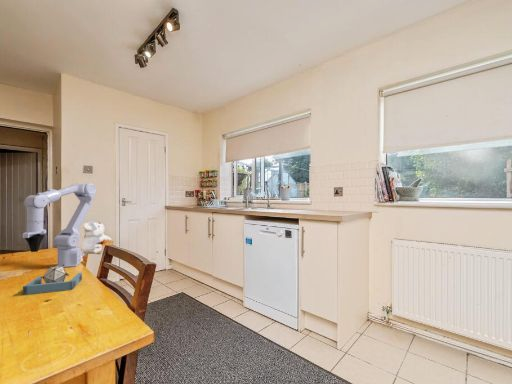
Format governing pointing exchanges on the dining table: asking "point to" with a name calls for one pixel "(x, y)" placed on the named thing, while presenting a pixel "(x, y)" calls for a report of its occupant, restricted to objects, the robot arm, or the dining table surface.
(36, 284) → the chassis
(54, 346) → the dining table surface
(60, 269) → the game die
